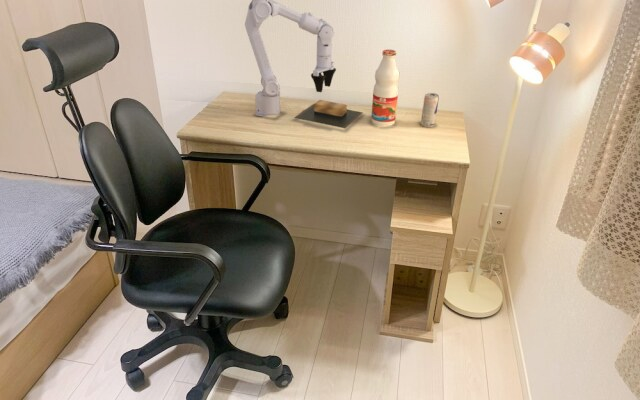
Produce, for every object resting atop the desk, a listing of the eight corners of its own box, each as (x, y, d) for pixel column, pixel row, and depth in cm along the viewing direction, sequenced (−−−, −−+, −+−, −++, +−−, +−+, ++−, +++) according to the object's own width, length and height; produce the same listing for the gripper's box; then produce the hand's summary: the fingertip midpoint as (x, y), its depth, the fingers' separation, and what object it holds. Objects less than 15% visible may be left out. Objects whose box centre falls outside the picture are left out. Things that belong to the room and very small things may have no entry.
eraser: (314, 113, 192) (314, 103, 190) (319, 109, 196) (319, 99, 193) (341, 119, 188) (341, 108, 185) (346, 114, 191) (347, 104, 189)
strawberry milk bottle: (398, 121, 190) (405, 49, 175) (390, 129, 182) (398, 56, 167) (375, 117, 193) (381, 46, 178) (367, 125, 186) (372, 52, 171)
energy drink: (436, 123, 188) (440, 94, 182) (432, 128, 184) (437, 98, 178) (422, 121, 190) (426, 91, 184) (419, 125, 186) (423, 96, 179)
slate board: (294, 120, 189) (294, 117, 188) (314, 105, 202) (314, 103, 202) (345, 131, 181) (345, 128, 180) (363, 115, 194) (363, 112, 194)
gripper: (325, 61, 178) (324, 96, 186) (341, 51, 189) (339, 85, 197) (308, 58, 181) (308, 93, 188) (325, 49, 192) (324, 82, 199)
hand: (323, 88), depth 193 cm, fingers open, 7 cm apart
